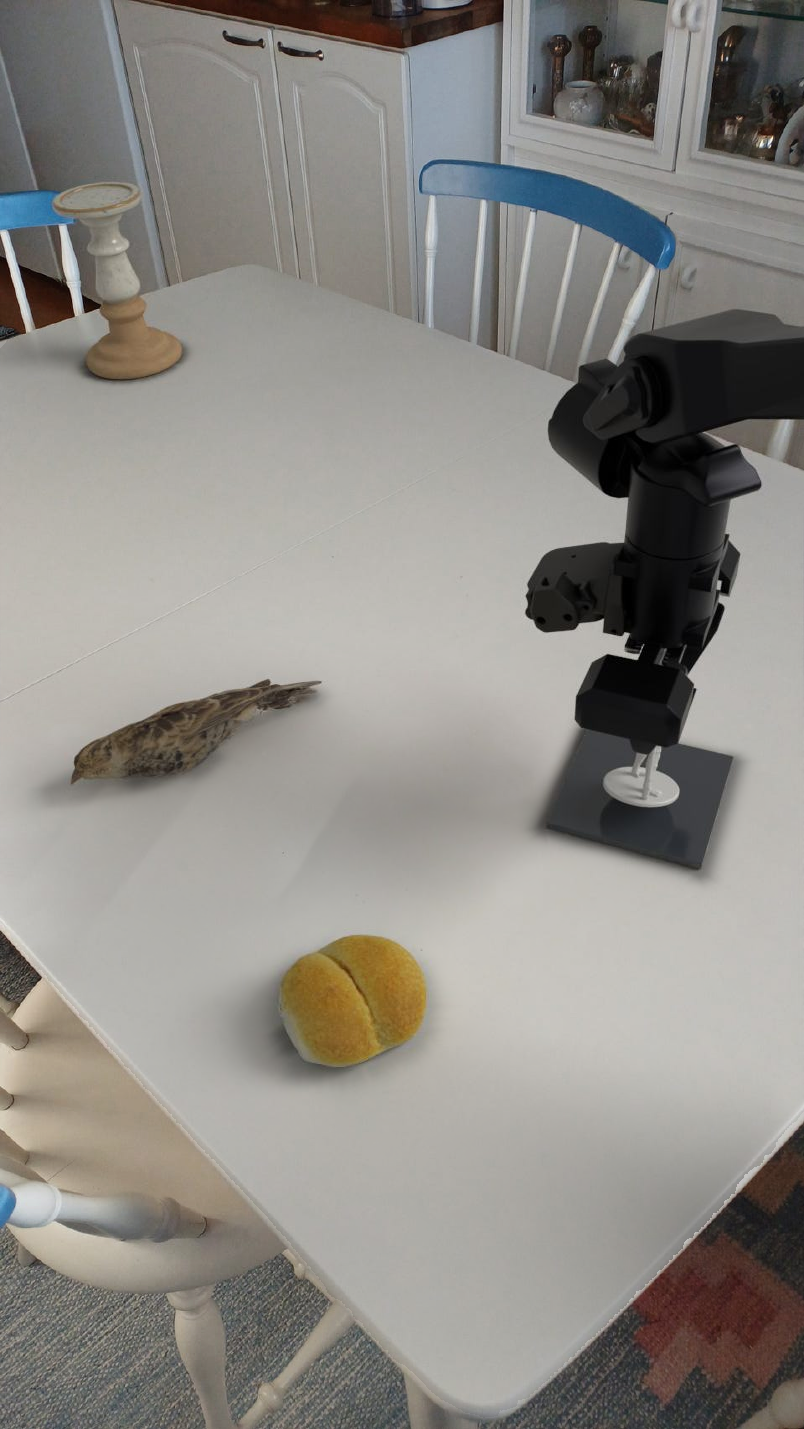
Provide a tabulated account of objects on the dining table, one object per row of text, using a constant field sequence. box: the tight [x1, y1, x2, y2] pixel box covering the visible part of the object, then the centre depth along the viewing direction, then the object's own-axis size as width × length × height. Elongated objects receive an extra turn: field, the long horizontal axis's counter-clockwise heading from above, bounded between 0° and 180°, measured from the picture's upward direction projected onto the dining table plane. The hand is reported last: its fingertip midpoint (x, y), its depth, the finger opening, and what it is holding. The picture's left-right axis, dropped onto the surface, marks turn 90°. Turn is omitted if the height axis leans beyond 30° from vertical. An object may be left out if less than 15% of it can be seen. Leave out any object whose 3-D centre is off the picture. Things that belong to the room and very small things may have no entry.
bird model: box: [69, 678, 323, 786], centre depth 83 cm, size 21×6×5 cm
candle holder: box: [51, 181, 183, 380], centre depth 133 cm, size 12×12×20 cm
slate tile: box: [545, 729, 734, 870], centre depth 78 cm, size 11×11×1 cm
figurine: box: [603, 648, 679, 807], centre depth 73 cm, size 5×5×12 cm
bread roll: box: [277, 934, 428, 1068], centre depth 66 cm, size 8×9×4 cm
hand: (650, 726), depth 74 cm, fingers closed on figurine, 5 cm apart
